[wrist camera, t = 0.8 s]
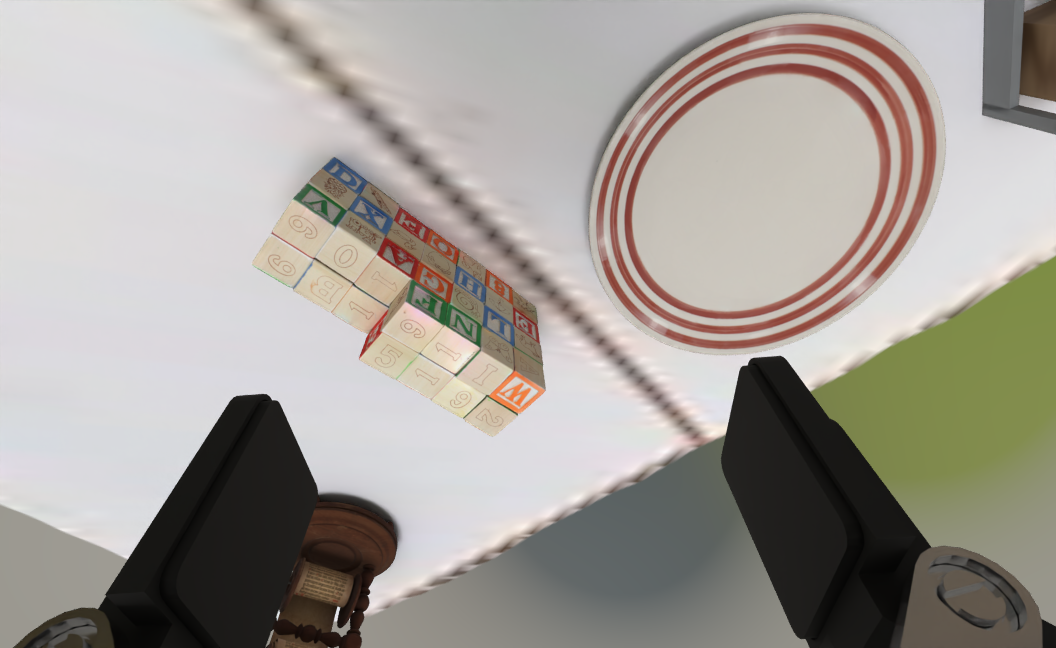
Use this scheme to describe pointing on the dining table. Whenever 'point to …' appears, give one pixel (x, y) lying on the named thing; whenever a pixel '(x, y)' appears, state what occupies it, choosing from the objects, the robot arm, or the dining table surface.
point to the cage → (1007, 67)
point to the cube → (1039, 52)
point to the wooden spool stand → (333, 577)
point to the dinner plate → (766, 184)
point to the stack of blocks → (409, 298)
